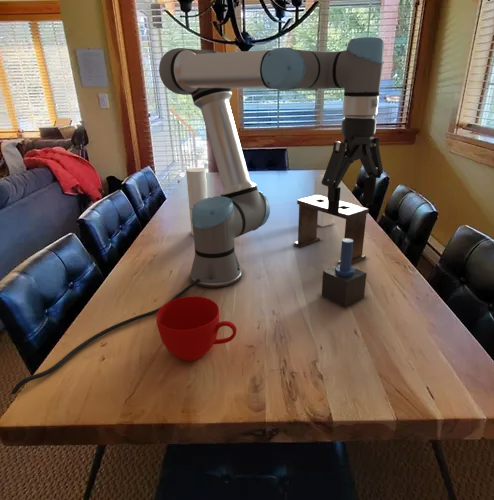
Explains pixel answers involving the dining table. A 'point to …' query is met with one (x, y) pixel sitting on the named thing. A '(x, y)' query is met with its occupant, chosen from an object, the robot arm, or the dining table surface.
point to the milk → (322, 190)
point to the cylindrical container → (196, 188)
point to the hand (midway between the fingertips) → (351, 208)
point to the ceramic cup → (191, 326)
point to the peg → (346, 259)
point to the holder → (343, 287)
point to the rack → (346, 210)
